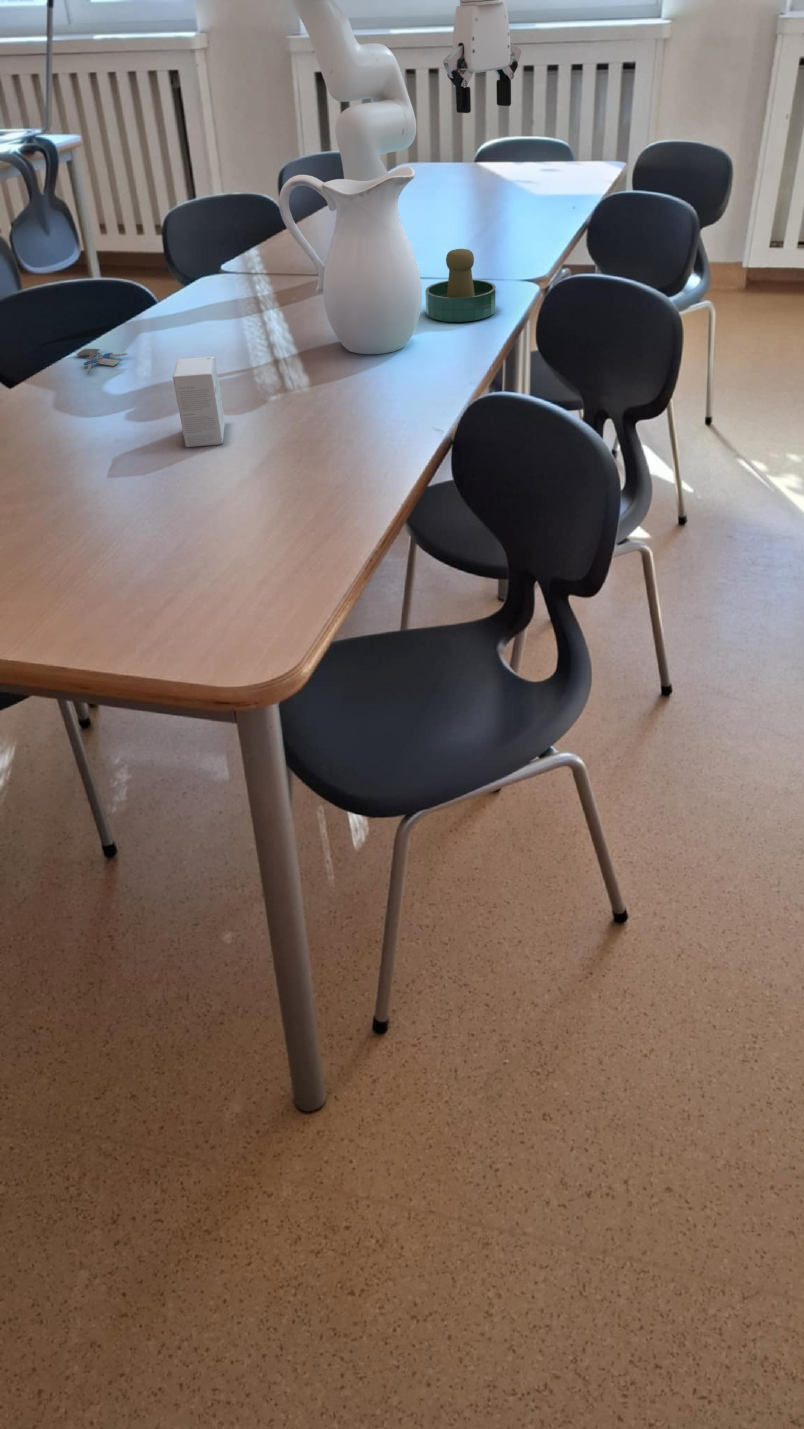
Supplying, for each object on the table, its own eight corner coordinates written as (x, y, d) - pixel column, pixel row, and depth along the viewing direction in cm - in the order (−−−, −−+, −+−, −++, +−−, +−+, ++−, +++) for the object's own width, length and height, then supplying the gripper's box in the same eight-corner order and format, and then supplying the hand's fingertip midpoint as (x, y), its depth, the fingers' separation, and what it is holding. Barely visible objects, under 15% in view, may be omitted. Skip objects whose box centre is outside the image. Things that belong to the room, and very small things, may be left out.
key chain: (74, 353, 194) (73, 348, 194) (119, 345, 197) (118, 340, 196) (87, 374, 184) (86, 370, 183) (134, 366, 186) (134, 361, 186)
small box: (189, 428, 161) (176, 358, 155) (226, 425, 161) (215, 355, 155) (184, 448, 155) (171, 376, 148) (223, 445, 155) (211, 373, 149)
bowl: (423, 324, 198) (422, 299, 195) (430, 304, 208) (429, 280, 206) (493, 322, 196) (493, 297, 193) (497, 302, 206) (497, 278, 204)
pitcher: (436, 333, 193) (429, 162, 176) (405, 362, 180) (395, 182, 164) (315, 327, 200) (298, 162, 184) (277, 355, 187) (256, 181, 171)
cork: (474, 316, 199) (473, 253, 192) (442, 316, 200) (440, 254, 194) (479, 307, 204) (478, 245, 197) (448, 307, 205) (446, 246, 198)
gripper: (503, -9, 188) (505, 102, 198) (428, -1, 180) (433, 114, 189) (533, -11, 183) (533, 103, 193) (457, -3, 175) (461, 116, 184)
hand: (484, 109), depth 191 cm, fingers open, 9 cm apart
